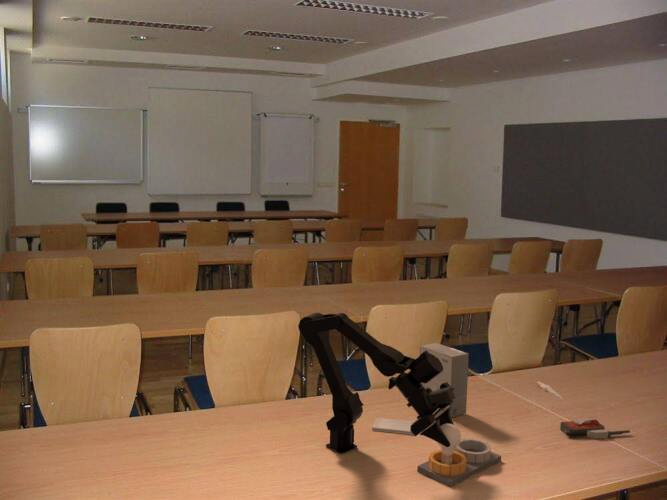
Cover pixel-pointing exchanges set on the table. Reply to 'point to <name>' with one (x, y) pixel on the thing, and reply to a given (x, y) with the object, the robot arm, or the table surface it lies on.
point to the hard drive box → (450, 374)
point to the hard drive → (392, 426)
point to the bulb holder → (460, 462)
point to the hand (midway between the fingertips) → (453, 441)
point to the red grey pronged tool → (587, 429)
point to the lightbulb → (453, 438)
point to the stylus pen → (548, 389)
